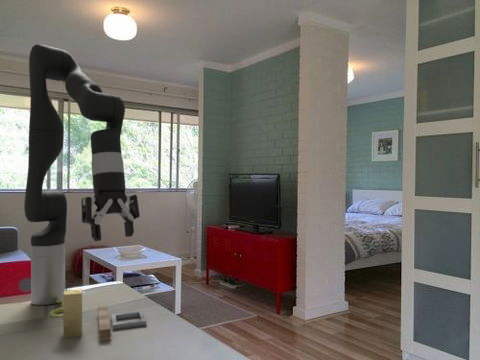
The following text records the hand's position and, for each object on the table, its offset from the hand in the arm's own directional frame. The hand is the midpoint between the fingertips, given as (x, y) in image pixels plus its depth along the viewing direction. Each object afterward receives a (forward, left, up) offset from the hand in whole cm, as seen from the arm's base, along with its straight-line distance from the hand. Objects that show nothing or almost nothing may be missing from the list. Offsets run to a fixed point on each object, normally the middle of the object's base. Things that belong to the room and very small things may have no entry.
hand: (113, 238), depth 98 cm
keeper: (-4, +4, -22) cm, 23 cm away
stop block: (-1, -9, -22) cm, 24 cm away
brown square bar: (-3, -2, -22) cm, 23 cm away
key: (-21, -12, -23) cm, 33 cm away
